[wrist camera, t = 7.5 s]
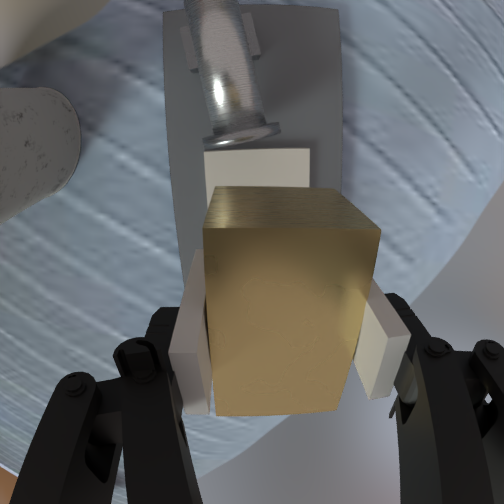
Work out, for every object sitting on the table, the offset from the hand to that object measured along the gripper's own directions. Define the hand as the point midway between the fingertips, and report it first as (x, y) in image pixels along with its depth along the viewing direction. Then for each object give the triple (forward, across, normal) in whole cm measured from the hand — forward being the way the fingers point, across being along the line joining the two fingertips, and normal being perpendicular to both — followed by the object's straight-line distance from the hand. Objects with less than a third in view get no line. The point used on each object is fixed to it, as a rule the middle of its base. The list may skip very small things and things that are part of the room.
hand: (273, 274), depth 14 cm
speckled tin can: (+11, -18, +7) cm, 22 cm away
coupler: (0, 0, 0) cm, 1 cm away
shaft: (+9, -2, +10) cm, 14 cm away
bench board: (+10, 0, 0) cm, 10 cm away
